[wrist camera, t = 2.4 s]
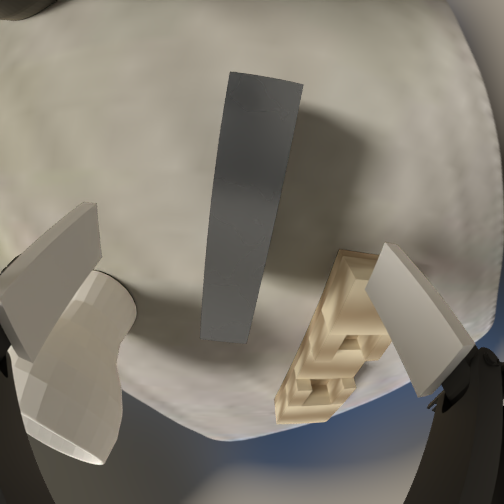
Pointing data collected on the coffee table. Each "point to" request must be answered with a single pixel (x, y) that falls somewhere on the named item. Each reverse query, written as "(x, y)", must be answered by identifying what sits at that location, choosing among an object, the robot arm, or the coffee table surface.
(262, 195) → the grey block
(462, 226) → the coffee table surface
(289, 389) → the rail
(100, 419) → the cup
